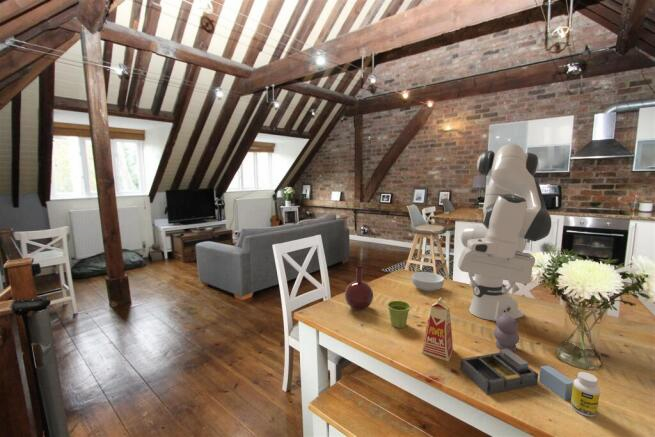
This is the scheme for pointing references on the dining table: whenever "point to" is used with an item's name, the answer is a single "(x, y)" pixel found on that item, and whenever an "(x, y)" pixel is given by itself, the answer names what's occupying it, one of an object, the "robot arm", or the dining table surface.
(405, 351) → the dining table surface
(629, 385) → the dining table surface
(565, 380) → the light blue block
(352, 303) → the round-bottom flask
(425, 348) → the milk carton
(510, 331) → the purple lumpy figurine
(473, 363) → the tray
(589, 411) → the supplement bottle
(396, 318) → the plant pot
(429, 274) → the cereal bowl
